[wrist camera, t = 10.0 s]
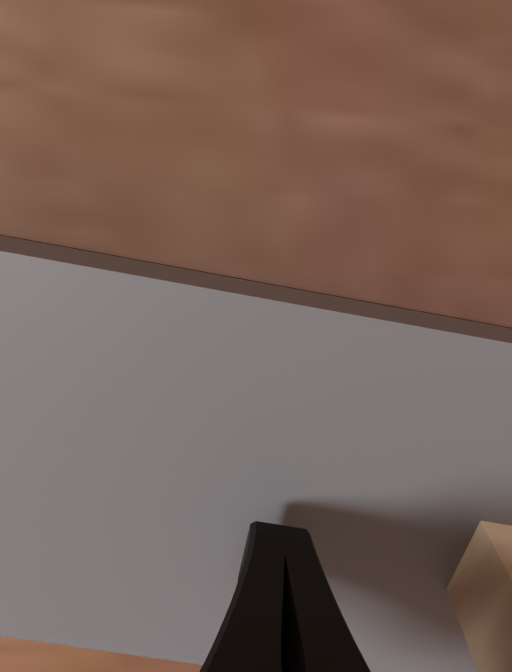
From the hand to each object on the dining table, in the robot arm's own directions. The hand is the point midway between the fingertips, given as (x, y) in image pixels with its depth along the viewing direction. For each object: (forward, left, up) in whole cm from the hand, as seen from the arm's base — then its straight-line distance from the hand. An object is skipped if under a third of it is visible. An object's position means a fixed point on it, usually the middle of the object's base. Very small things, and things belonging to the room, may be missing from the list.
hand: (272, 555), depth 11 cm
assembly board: (0, -8, -2) cm, 8 cm away
